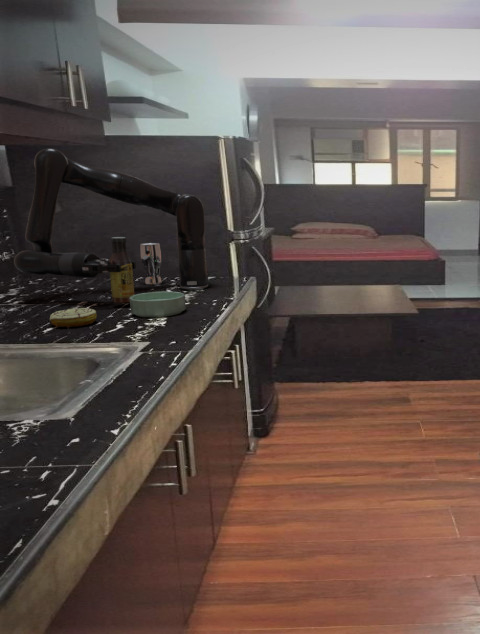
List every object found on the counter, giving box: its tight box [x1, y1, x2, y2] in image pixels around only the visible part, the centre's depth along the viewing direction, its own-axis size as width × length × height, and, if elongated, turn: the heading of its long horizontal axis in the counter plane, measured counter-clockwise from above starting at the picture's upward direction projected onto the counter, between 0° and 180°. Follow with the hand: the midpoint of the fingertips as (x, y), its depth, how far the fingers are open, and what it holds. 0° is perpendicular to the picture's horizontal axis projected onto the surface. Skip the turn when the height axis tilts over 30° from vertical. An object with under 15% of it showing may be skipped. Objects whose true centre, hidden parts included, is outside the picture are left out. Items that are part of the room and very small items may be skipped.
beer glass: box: [139, 242, 163, 286], centre depth 224 cm, size 7×7×15 cm
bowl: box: [129, 291, 187, 318], centre depth 176 cm, size 15×15×5 cm
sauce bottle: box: [109, 236, 135, 304], centre depth 182 cm, size 7×6×20 cm
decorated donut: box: [49, 307, 98, 328], centre depth 161 cm, size 10×11×4 cm
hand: (127, 266), depth 182 cm, fingers closed on sauce bottle, 6 cm apart
